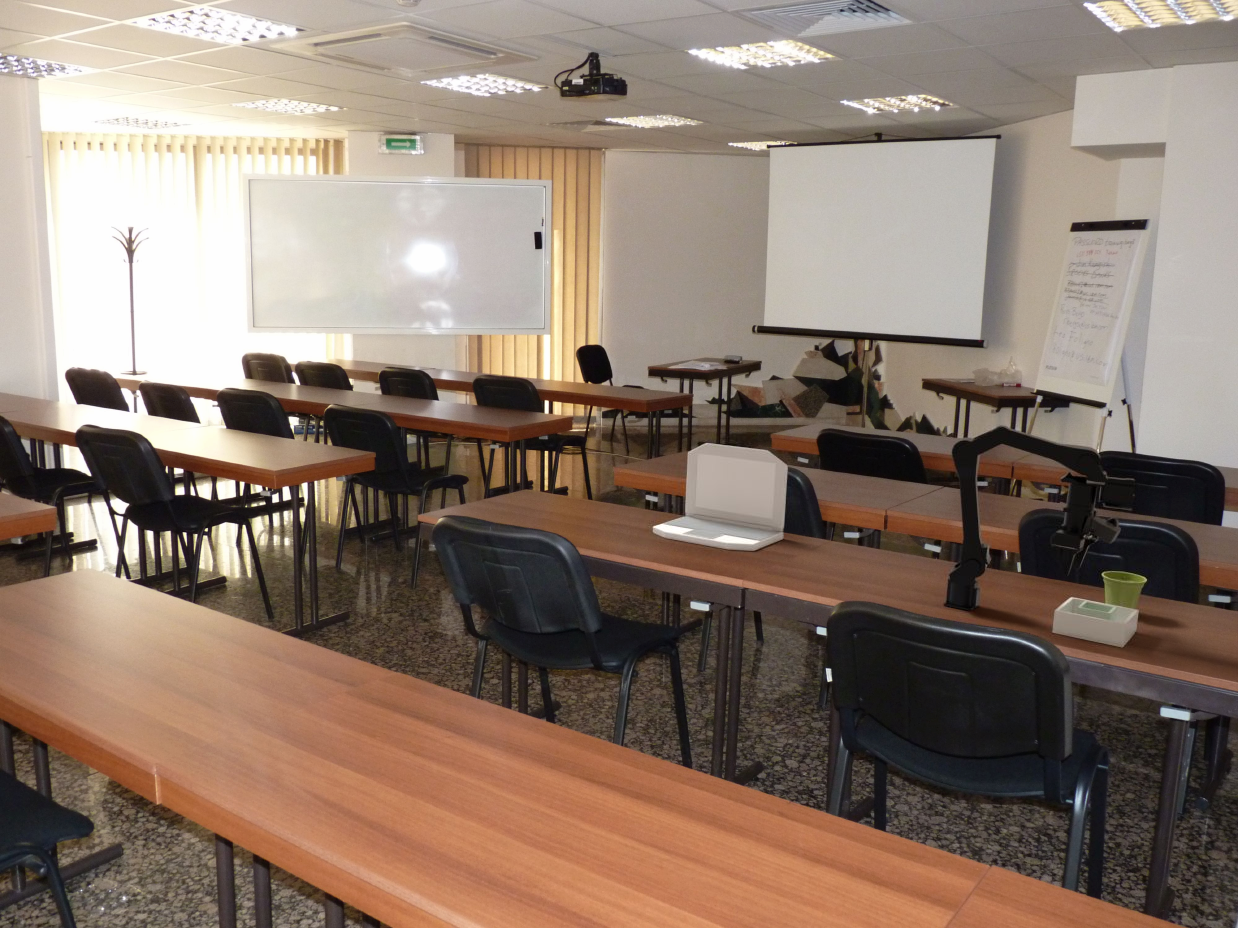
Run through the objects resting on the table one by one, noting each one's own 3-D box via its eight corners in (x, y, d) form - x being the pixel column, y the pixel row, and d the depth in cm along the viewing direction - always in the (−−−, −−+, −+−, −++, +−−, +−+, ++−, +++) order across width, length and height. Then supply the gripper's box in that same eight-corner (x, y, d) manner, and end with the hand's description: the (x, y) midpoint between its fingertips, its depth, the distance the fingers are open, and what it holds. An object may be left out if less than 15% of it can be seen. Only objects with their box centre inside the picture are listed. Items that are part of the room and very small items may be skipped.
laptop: (646, 536, 297) (649, 448, 293) (686, 523, 317) (690, 440, 313) (747, 554, 279) (752, 461, 274) (783, 539, 299) (789, 452, 294)
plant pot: (1147, 620, 229) (1152, 583, 228) (1103, 616, 231) (1108, 579, 229) (1135, 608, 238) (1139, 573, 237) (1093, 604, 240) (1097, 569, 239)
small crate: (1075, 629, 218) (1077, 607, 217) (1082, 622, 223) (1084, 600, 222) (1107, 635, 214) (1110, 613, 213) (1114, 628, 219) (1116, 606, 218)
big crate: (1052, 632, 217) (1054, 610, 216) (1068, 618, 228) (1071, 596, 227) (1122, 647, 209) (1125, 624, 208) (1136, 631, 220) (1138, 609, 219)
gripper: (1109, 516, 209) (1099, 587, 212) (1129, 504, 224) (1120, 572, 226) (1053, 506, 216) (1044, 576, 219) (1077, 496, 231) (1068, 562, 233)
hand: (1071, 571), depth 224 cm, fingers open, 9 cm apart
